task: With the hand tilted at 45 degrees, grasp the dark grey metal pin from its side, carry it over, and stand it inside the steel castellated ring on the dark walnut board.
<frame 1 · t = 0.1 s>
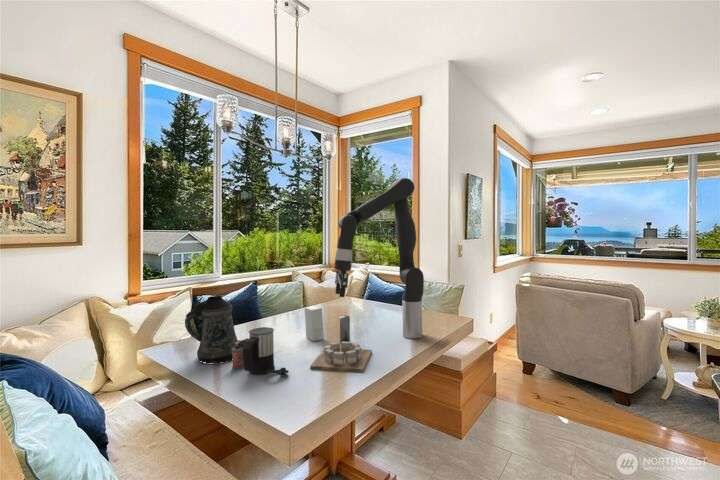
hand: (339, 295, 153), 22 cm above the table, tool pointing down, fingers open, 8 cm apart
castellated collar: (342, 360, 134), on the table
lighter: (242, 366, 131), on the table
skincare box: (314, 338, 163), on the table
beer stein: (216, 358, 139), on the table
metal pin: (345, 342, 156), on the table
milk frother: (269, 373, 124), on the table
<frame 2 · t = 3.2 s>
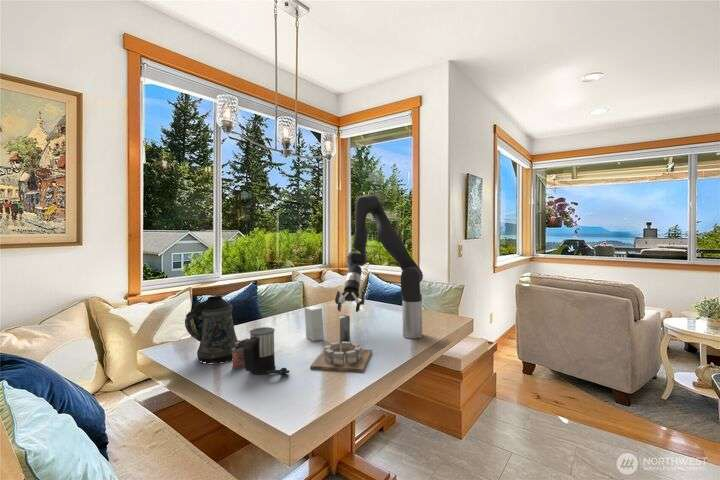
hand: (347, 311, 163), 13 cm above the table, tool tilted 45°, fingers open, 8 cm apart
nothing on the table moved.
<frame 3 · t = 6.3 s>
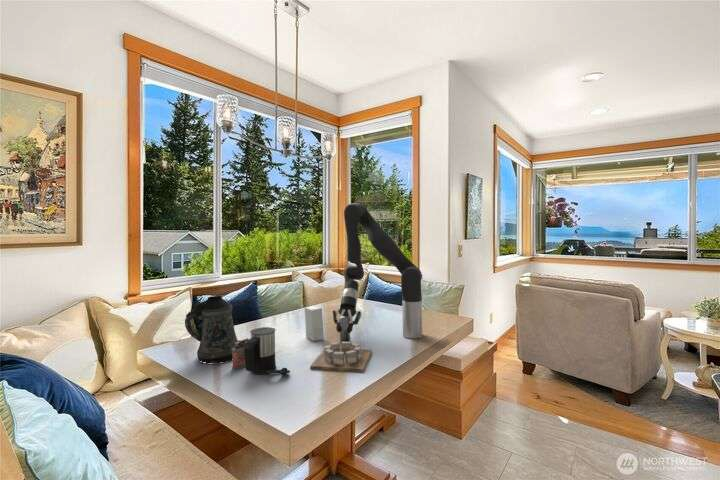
hand: (344, 331, 154), 6 cm above the table, tool tilted 45°, fingers closed on metal pin, 4 cm apart
metal pin: (345, 342, 156), on the table, touching gripper
everything else where it was.
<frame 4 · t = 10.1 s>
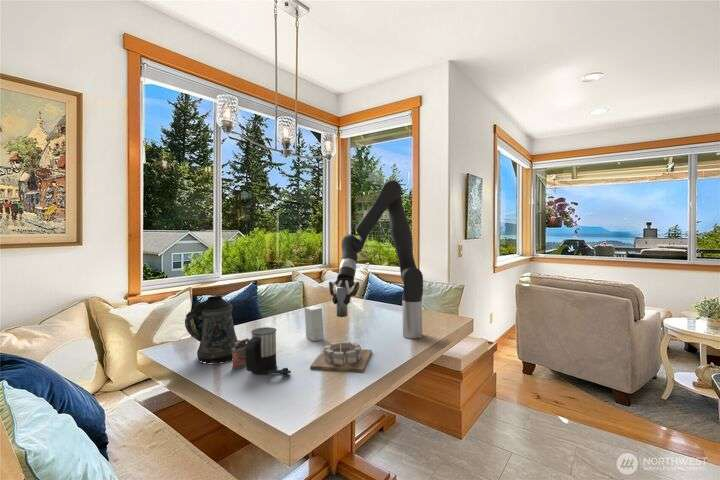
hand: (340, 303, 142), 21 cm above the table, tool tilted 45°, fingers closed on metal pin, 4 cm apart
metal pin: (342, 315, 144), point 15 cm above the table, touching gripper
everything else where it was.
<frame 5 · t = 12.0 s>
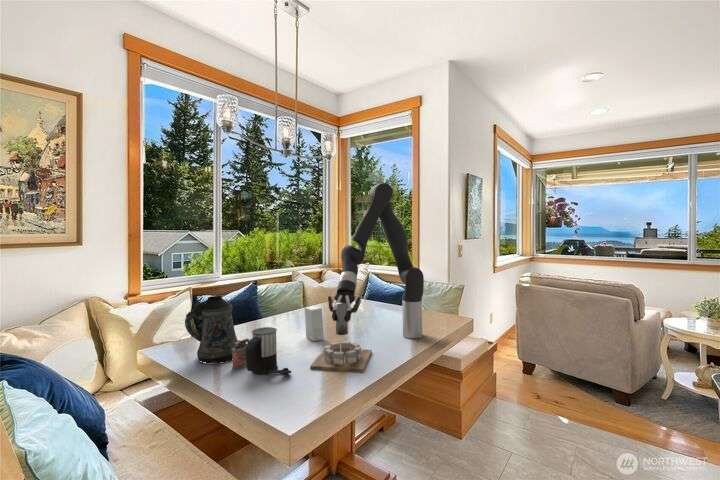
hand: (340, 320, 132), 16 cm above the table, tool tilted 45°, fingers closed on metal pin, 4 cm apart
metal pin: (341, 333, 134), point 11 cm above the table, touching gripper
when the fingers open (8 cm above the table, at t = 13.8 s): metal pin drops 1 cm, resting on castellated collar.
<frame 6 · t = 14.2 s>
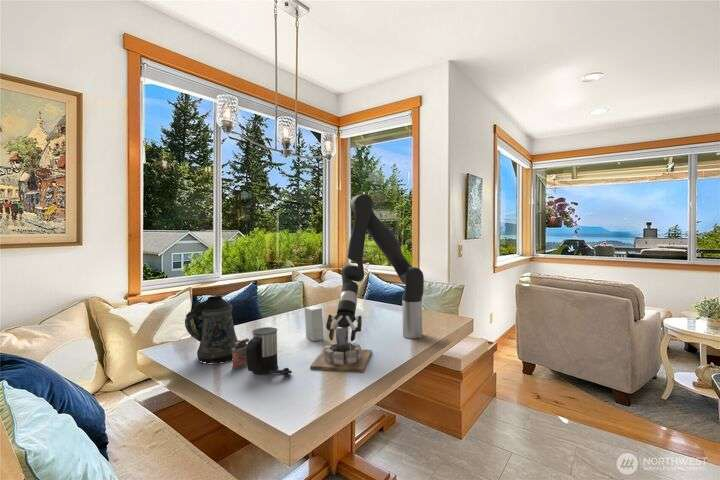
hand: (341, 339, 133), 9 cm above the table, tool tilted 45°, fingers open, 8 cm apart
metal pin: (342, 357, 135), point 1 cm above the table, touching castellated collar
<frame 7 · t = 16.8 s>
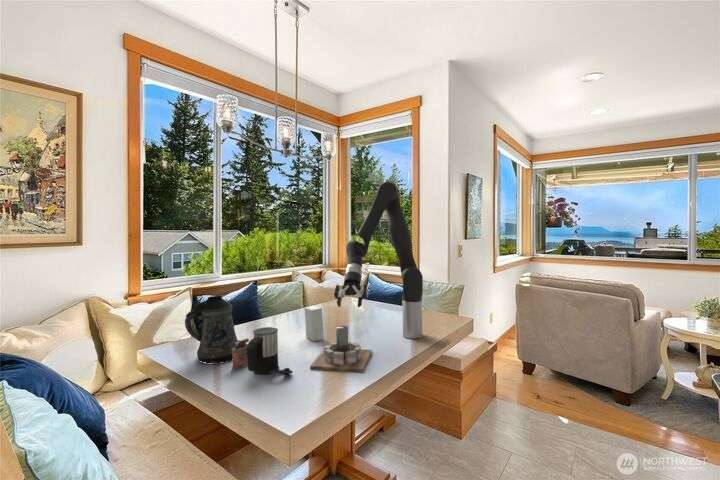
hand: (348, 306, 145), 19 cm above the table, tool tilted 45°, fingers open, 8 cm apart
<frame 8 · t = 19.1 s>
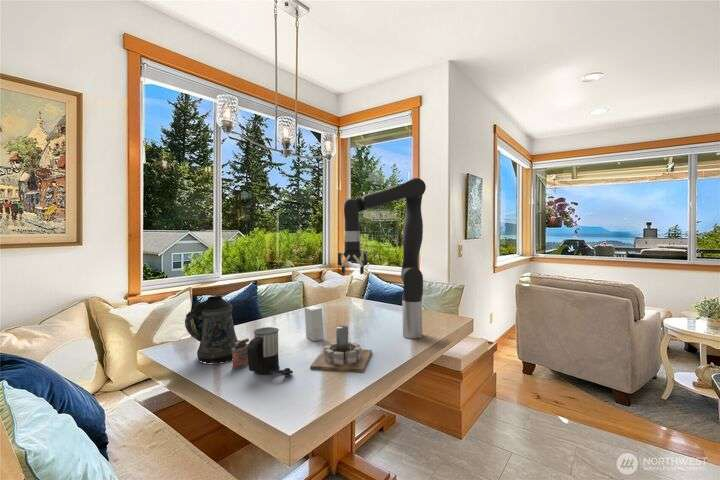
hand: (352, 274, 164), 30 cm above the table, tool pointing down, fingers open, 8 cm apart
at the end: metal pin 0.1 cm off-centre on the castellated collar, point 1.2 cm above the castellated collar's base; metal pin tilted 0°; the gripper is holding nothing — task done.
